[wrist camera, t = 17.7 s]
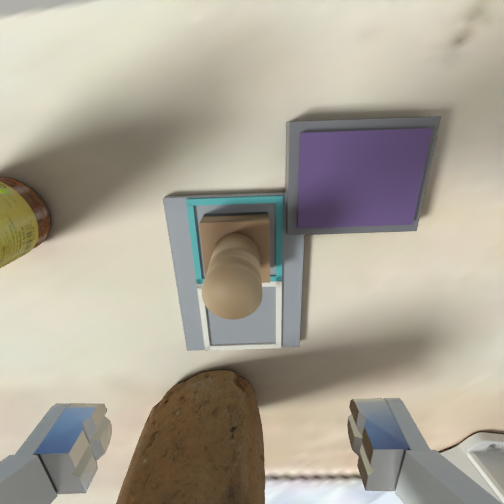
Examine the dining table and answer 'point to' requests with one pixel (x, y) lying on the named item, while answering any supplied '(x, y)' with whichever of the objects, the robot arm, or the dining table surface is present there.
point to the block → (200, 446)
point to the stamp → (235, 262)
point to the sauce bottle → (20, 220)
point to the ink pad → (357, 174)
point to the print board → (274, 293)
